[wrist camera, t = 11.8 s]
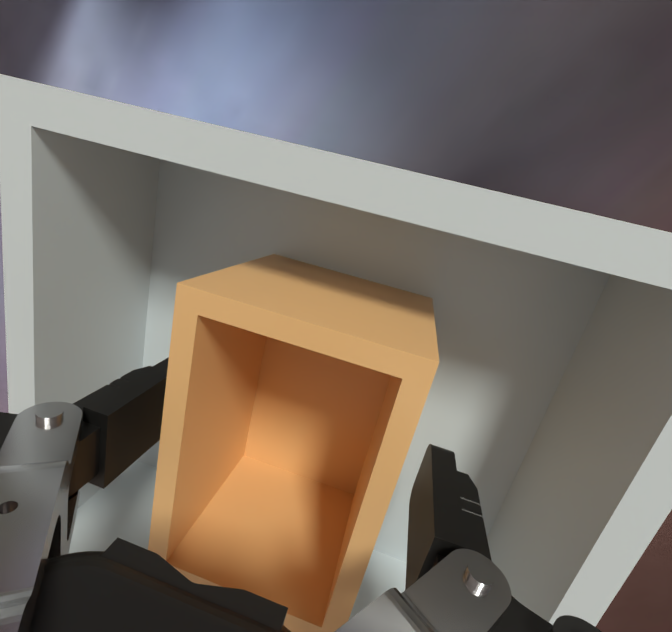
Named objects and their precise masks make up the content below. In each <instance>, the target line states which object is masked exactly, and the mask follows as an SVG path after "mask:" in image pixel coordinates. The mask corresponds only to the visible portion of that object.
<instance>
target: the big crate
mask: <svg viewBox="0 0 672 632" xmlns="http://www.w3.org/2000/svg"><path fill="white" fill-rule="evenodd" d="M0 194H1V220H2V247H3V274H4V301H5V327H6V354H7V381H8V408H9V413H11V414H19V413H20V412H22V411H23V410H25V409H27V408H29V407H31V406H34V405H37V404H41V403H47V402H67V403H71V404H73V403H75V402H77V401H78V400H80V399H82V398H84V397H86V396H87V395H89V394H91V393H93V392H95V391H96V390H98V389H100V388H102V387H104V386H105V385H107V384H108V385H109V384H110V383H111V382H113V381H114V380H116V379H120V378H121V377H122V376H123V375H125V374H127V373H129V372H131V371H132V370H135V369H139V368H143V367H147V366H152V367H153V366H154V365H156V364H158V363H159V362H161V361H163V360H165V359H166V358H168V357H169V351H170V342H171V332H172V323H173V314H174V305H175V295H176V286H177V283H178V282H181V281H184V280H188V279H191V278H194V277H198V276H201V275H204V274H208V273H211V272H215V271H218V270H221V269H225V268H228V267H231V266H235V265H238V264H241V263H245V262H248V261H251V260H255V259H258V258H262V257H265V256H268V255H272V254H276V255H280V256H283V257H287V258H291V259H294V260H298V261H301V262H305V263H308V264H312V265H316V266H319V267H323V268H326V269H330V270H333V271H337V272H340V273H344V274H348V275H351V276H355V277H358V278H362V279H365V280H369V281H373V282H376V283H380V284H383V285H387V286H390V287H394V288H398V289H401V290H405V291H408V292H412V293H415V294H419V295H423V296H426V297H430V298H432V299H433V308H434V317H435V326H436V335H437V344H438V353H439V365H438V368H437V371H436V373H435V376H434V379H433V382H432V385H431V388H430V390H429V393H428V396H427V399H426V402H425V405H424V407H423V410H422V413H421V416H420V419H419V422H418V424H417V427H416V430H415V433H414V436H413V439H412V441H411V444H410V447H409V450H408V453H407V456H406V458H405V461H404V464H403V467H402V470H401V473H400V475H399V478H398V481H397V484H396V487H395V490H394V492H393V495H392V498H391V501H390V504H389V507H388V509H387V512H386V515H385V518H384V521H383V524H382V526H381V529H380V532H379V535H378V538H377V541H376V543H375V546H374V549H373V552H372V555H371V558H370V560H369V563H368V566H367V569H366V572H365V575H364V577H363V580H362V583H361V586H360V589H359V592H358V594H357V597H356V600H355V603H354V606H353V608H352V611H351V614H350V617H349V620H350V619H351V618H352V617H354V616H355V615H356V614H358V613H359V612H360V611H361V610H363V609H364V608H365V607H366V606H368V605H369V604H370V603H372V602H373V601H374V600H375V599H377V598H378V597H379V596H380V595H382V594H383V593H384V592H386V591H387V590H389V589H391V588H397V590H398V591H399V592H400V593H402V592H404V591H405V585H406V563H407V541H408V519H409V502H410V496H411V491H412V488H413V484H414V482H415V479H416V476H417V473H418V471H419V468H420V465H421V463H422V460H423V457H424V455H425V452H426V449H427V447H428V445H429V444H432V445H435V446H438V447H441V448H444V449H447V450H450V451H453V452H454V453H455V460H456V468H457V471H460V472H463V473H465V474H468V475H469V477H470V478H471V480H472V481H473V483H474V484H475V486H476V487H477V489H478V494H479V499H480V506H481V509H482V514H483V515H482V518H483V520H484V525H485V530H486V535H487V540H488V545H489V550H490V555H491V560H492V562H493V563H494V564H495V565H496V566H497V567H498V568H499V569H500V570H501V571H502V573H503V574H504V576H505V577H506V579H507V581H508V583H509V586H510V589H511V595H512V596H513V597H514V598H515V599H516V600H517V601H518V602H520V603H521V604H522V605H524V606H525V607H526V608H528V609H529V610H531V611H532V612H534V613H535V614H537V615H538V616H540V617H541V618H543V619H544V620H546V621H547V622H549V623H550V624H552V625H553V624H554V622H555V621H556V619H557V618H559V617H560V616H563V615H570V616H575V617H578V618H581V619H583V620H585V621H587V622H588V623H590V624H592V625H593V626H596V625H597V623H598V622H599V620H600V619H601V617H602V616H603V614H604V613H605V611H606V609H607V608H608V606H609V605H610V603H611V602H612V600H613V599H614V597H615V596H616V594H617V593H618V591H619V589H620V588H621V586H622V585H623V583H624V582H625V580H626V579H627V577H628V576H629V574H630V573H631V571H632V569H633V568H634V566H635V565H636V563H637V562H638V560H639V559H640V557H641V556H642V554H643V553H644V551H645V549H646V548H647V546H648V545H649V543H650V542H651V540H652V539H653V537H654V536H655V534H656V533H657V531H658V529H659V528H660V526H661V525H662V523H663V522H664V520H665V519H666V517H667V516H668V514H669V513H670V511H671V509H672V233H670V232H666V231H662V230H657V229H653V228H649V227H645V226H641V225H636V224H632V223H628V222H624V221H619V220H615V219H611V218H607V217H603V216H598V215H594V214H590V213H586V212H581V211H577V210H573V209H569V208H565V207H560V206H556V205H552V204H548V203H543V202H539V201H535V200H531V199H527V198H522V197H518V196H514V195H510V194H505V193H501V192H497V191H493V190H489V189H484V188H480V187H476V186H472V185H467V184H463V183H459V182H455V181H451V180H446V179H442V178H438V177H434V176H429V175H425V174H421V173H417V172H413V171H408V170H404V169H400V168H396V167H391V166H387V165H383V164H379V163H375V162H370V161H366V160H362V159H358V158H353V157H349V156H345V155H341V154H337V153H332V152H328V151H324V150H320V149H315V148H311V147H307V146H303V145H299V144H294V143H290V142H286V141H282V140H277V139H273V138H269V137H265V136H261V135H256V134H252V133H248V132H244V131H239V130H235V129H231V128H227V127H223V126H218V125H214V124H210V123H206V122H201V121H197V120H193V119H189V118H185V117H180V116H176V115H172V114H168V113H163V112H159V111H155V110H151V109H147V108H142V107H138V106H134V105H130V104H125V103H121V102H117V101H113V100H109V99H104V98H100V97H96V96H92V95H87V94H83V93H79V92H75V91H71V90H66V89H62V88H58V87H54V86H49V85H45V84H41V83H37V82H32V81H28V80H24V79H20V78H16V77H11V76H7V75H3V74H0ZM159 443H160V440H159V441H158V442H157V443H156V444H154V445H153V446H152V447H151V448H150V449H149V450H148V451H146V452H145V453H144V454H143V455H142V456H141V457H140V458H138V459H137V460H136V461H135V462H134V463H133V464H132V465H130V466H129V467H128V468H127V469H126V470H125V471H124V472H122V473H121V474H120V475H119V476H118V477H117V478H116V479H114V480H113V481H112V482H111V483H110V484H109V485H108V486H106V487H105V488H104V489H103V488H100V487H98V486H95V485H93V484H90V483H87V484H85V485H84V486H83V487H82V488H80V498H79V503H78V508H77V513H76V518H75V523H74V528H73V534H72V539H71V544H70V549H69V553H75V552H84V551H105V550H106V549H107V548H108V547H109V546H110V545H111V544H112V543H113V542H114V541H115V540H116V539H117V537H118V538H121V539H123V540H125V541H128V542H130V543H133V544H135V545H138V546H140V547H142V548H145V549H147V550H148V545H149V536H150V527H151V517H152V508H153V499H154V490H155V480H156V471H157V462H158V453H159ZM349 620H348V621H349Z"/></svg>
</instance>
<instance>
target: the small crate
mask: <svg viewBox="0 0 672 632" xmlns="http://www.w3.org/2000/svg"><path fill="white" fill-rule="evenodd" d="M438 365H439V353H438V344H437V335H436V326H435V317H434V308H433V299H432V298H430V297H426V296H423V295H419V294H415V293H412V292H408V291H405V290H401V289H398V288H394V287H390V286H387V285H383V284H380V283H376V282H373V281H369V280H365V279H362V278H358V277H355V276H351V275H348V274H344V273H340V272H337V271H333V270H330V269H326V268H323V267H319V266H316V265H312V264H308V263H305V262H301V261H298V260H294V259H291V258H287V257H283V256H280V255H276V254H272V255H268V256H265V257H262V258H258V259H255V260H251V261H248V262H245V263H241V264H238V265H235V266H231V267H228V268H225V269H221V270H218V271H215V272H211V273H208V274H204V275H201V276H198V277H194V278H191V279H188V280H184V281H181V282H178V283H177V286H176V295H175V305H174V314H173V323H172V332H171V342H170V351H169V360H168V369H167V379H166V388H165V397H164V406H163V416H162V425H161V434H160V443H159V453H158V462H157V471H156V480H155V490H154V499H153V508H152V517H151V527H150V536H149V545H148V550H150V551H152V552H154V553H157V554H158V555H160V556H161V557H162V558H163V559H164V560H166V561H167V562H168V563H169V564H170V565H172V566H173V567H174V568H175V569H176V570H178V571H179V572H180V573H181V574H182V575H184V576H185V577H186V578H187V579H188V580H190V581H191V582H193V583H197V584H204V585H212V586H220V587H228V588H236V589H244V590H246V591H249V592H251V593H254V594H256V595H259V596H261V597H263V598H266V599H268V600H271V601H273V602H275V603H278V604H280V605H283V606H285V607H288V610H287V614H286V617H285V621H284V626H285V627H286V628H287V629H289V630H290V631H291V632H335V631H336V630H337V629H338V628H340V627H341V626H342V625H343V624H345V623H346V622H347V621H348V620H349V617H350V614H351V611H352V608H353V606H354V603H355V600H356V597H357V594H358V592H359V589H360V586H361V583H362V580H363V577H364V575H365V572H366V569H367V566H368V563H369V560H370V558H371V555H372V552H373V549H374V546H375V543H376V541H377V538H378V535H379V532H380V529H381V526H382V524H383V521H384V518H385V515H386V512H387V509H388V507H389V504H390V501H391V498H392V495H393V492H394V490H395V487H396V484H397V481H398V478H399V475H400V473H401V470H402V467H403V464H404V461H405V458H406V456H407V453H408V450H409V447H410V444H411V441H412V439H413V436H414V433H415V430H416V427H417V424H418V422H419V419H420V416H421V413H422V410H423V407H424V405H425V402H426V399H427V396H428V393H429V390H430V388H431V385H432V382H433V379H434V376H435V373H436V371H437V368H438Z"/></svg>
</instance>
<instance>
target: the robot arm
mask: <svg viewBox="0 0 672 632" xmlns="http://www.w3.org/2000/svg"><path fill="white" fill-rule="evenodd" d="M168 360H169V357H168V358H166V359H165V360H163V361H161V362H159V363H158V364H156V365H154V366H153V367H152V366H147V367H143V368H139V369H135V370H132V371H131V372H129V373H127V374H125V375H123V376H122V377H121V378H120V379H116V380H114V381H113V382H111V383H110V384H109V385H108V384H107V385H105V386H104V387H102V388H100V389H98V390H96V391H95V392H93V393H91V394H89V395H87V396H86V397H84V398H82V399H80V400H78V401H77V402H75V403H73V404H71V403H67V402H47V403H41V404H37V405H34V406H31V407H29V408H27V409H25V410H23V411H22V412H20V413H19V414H11V413H3V412H0V632H291V631H290V630H289V629H287V628H286V627H285V626H284V621H285V617H286V614H287V610H288V607H285V606H283V605H280V604H278V603H275V602H273V601H271V600H268V599H266V598H263V597H261V596H259V595H256V594H254V593H251V592H249V591H246V590H244V589H236V588H228V587H220V586H212V585H204V584H197V583H193V582H191V581H190V580H188V579H187V578H186V577H185V576H184V575H182V574H181V573H180V572H179V571H178V570H176V569H175V568H174V567H173V566H172V565H170V564H169V563H168V562H167V561H166V560H164V559H163V558H162V557H161V556H160V555H158V554H157V553H154V552H152V551H150V550H147V549H145V548H142V547H140V546H138V545H135V544H133V543H130V542H128V541H125V540H123V539H121V538H118V537H117V539H116V540H115V541H114V542H113V543H112V544H111V545H110V546H109V547H108V548H107V549H106V550H105V551H84V552H75V553H69V549H70V544H71V539H72V534H73V528H74V523H75V518H76V513H77V508H78V503H79V498H80V488H82V487H83V486H84V485H85V484H87V483H90V484H93V485H95V486H98V487H100V488H103V489H104V488H105V487H106V486H108V485H109V484H110V483H111V482H112V481H113V480H114V479H116V478H117V477H118V476H119V475H120V474H121V473H122V472H124V471H125V470H126V469H127V468H128V467H129V466H130V465H132V464H133V463H134V462H135V461H136V460H137V459H138V458H140V457H141V456H142V455H143V454H144V453H145V452H146V451H148V450H149V449H150V448H151V447H152V446H153V445H154V444H156V443H157V442H158V441H159V440H160V434H161V425H162V416H163V406H164V397H165V388H166V379H167V369H168ZM482 515H483V514H482V509H481V506H480V499H479V494H478V489H477V487H476V486H475V484H474V483H473V481H472V480H471V478H470V477H469V475H468V474H465V473H463V472H460V471H457V468H456V460H455V453H454V452H453V451H450V450H447V449H444V448H441V447H438V446H435V445H432V444H429V445H428V447H427V449H426V452H425V455H424V457H423V460H422V463H421V465H420V468H419V471H418V473H417V476H416V479H415V482H414V484H413V488H412V491H411V496H410V502H409V519H408V541H407V563H406V585H405V591H404V592H402V593H400V592H399V591H398V590H397V588H391V589H389V590H387V591H386V592H384V593H383V594H382V595H380V596H379V597H378V598H377V599H375V600H374V601H373V602H372V603H370V604H369V605H368V606H366V607H365V608H364V609H363V610H361V611H360V612H359V613H358V614H356V615H355V616H354V617H352V618H351V619H350V620H349V621H347V622H346V623H345V624H343V625H342V626H341V627H340V628H338V629H337V630H336V631H335V632H601V631H600V630H599V629H597V628H596V627H595V626H593V625H592V624H590V623H588V622H587V621H585V620H583V619H581V618H578V617H575V616H570V615H563V616H560V617H559V618H557V619H556V621H555V622H554V624H553V625H552V624H550V623H549V622H547V621H546V620H544V619H543V618H541V617H540V616H538V615H537V614H535V613H534V612H532V611H531V610H529V609H528V608H526V607H525V606H524V605H522V604H521V603H520V602H518V601H517V600H516V599H515V598H514V597H513V596H512V595H511V589H510V586H509V583H508V581H507V579H506V577H505V576H504V574H503V573H502V571H501V570H500V569H499V568H498V567H497V566H496V565H495V564H494V563H493V562H492V560H491V555H490V550H489V545H488V540H487V535H486V530H485V525H484V520H483V518H482Z"/></svg>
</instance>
